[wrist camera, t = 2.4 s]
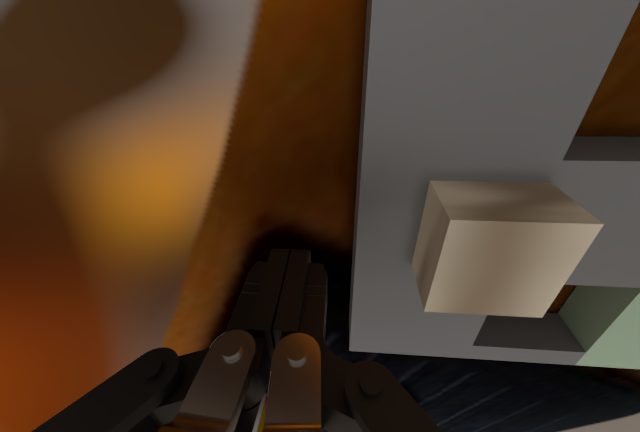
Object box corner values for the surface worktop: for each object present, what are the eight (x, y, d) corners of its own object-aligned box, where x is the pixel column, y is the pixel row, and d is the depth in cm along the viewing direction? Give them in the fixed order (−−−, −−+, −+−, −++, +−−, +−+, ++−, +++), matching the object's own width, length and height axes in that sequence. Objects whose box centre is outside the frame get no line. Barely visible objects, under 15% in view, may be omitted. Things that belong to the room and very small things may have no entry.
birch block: (551, 182, 12) (604, 224, 10) (509, 268, 15) (542, 317, 12) (430, 180, 12) (450, 220, 10) (411, 264, 15) (424, 311, 13)
